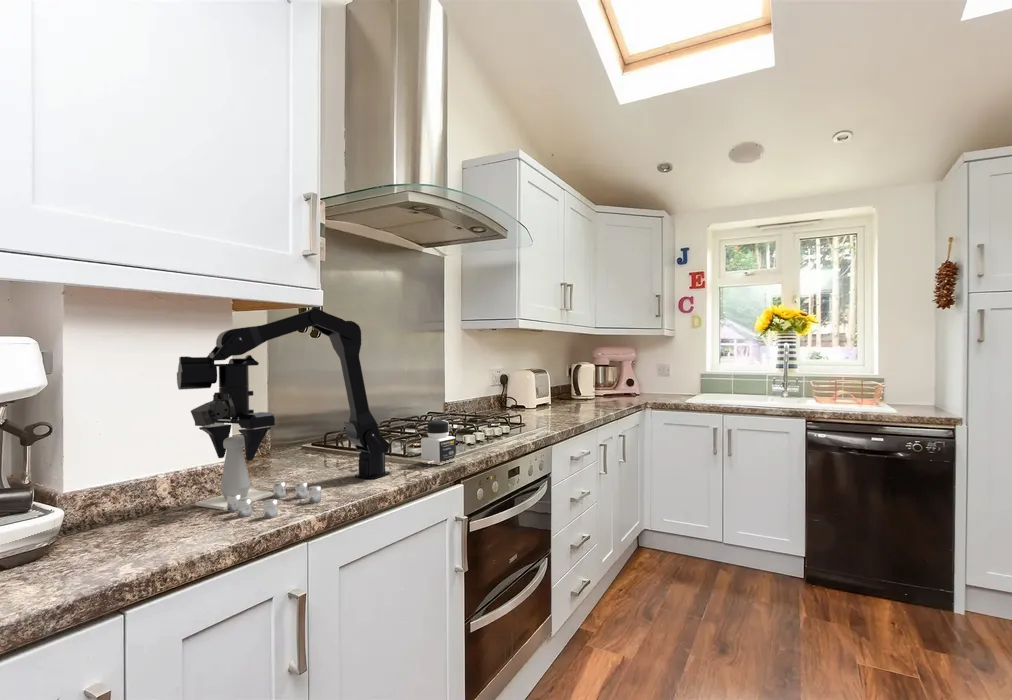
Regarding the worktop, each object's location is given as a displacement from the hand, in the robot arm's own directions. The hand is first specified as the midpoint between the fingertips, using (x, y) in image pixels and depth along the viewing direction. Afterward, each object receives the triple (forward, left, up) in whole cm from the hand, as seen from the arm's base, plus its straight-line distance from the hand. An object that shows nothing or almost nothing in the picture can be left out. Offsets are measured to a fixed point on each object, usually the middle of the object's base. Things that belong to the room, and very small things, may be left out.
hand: (235, 459), depth 111 cm
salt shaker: (0, 0, -8) cm, 8 cm away
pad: (0, 0, -9) cm, 9 cm away
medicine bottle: (-49, +20, -9) cm, 54 cm away
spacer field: (0, +12, -9) cm, 15 cm away
